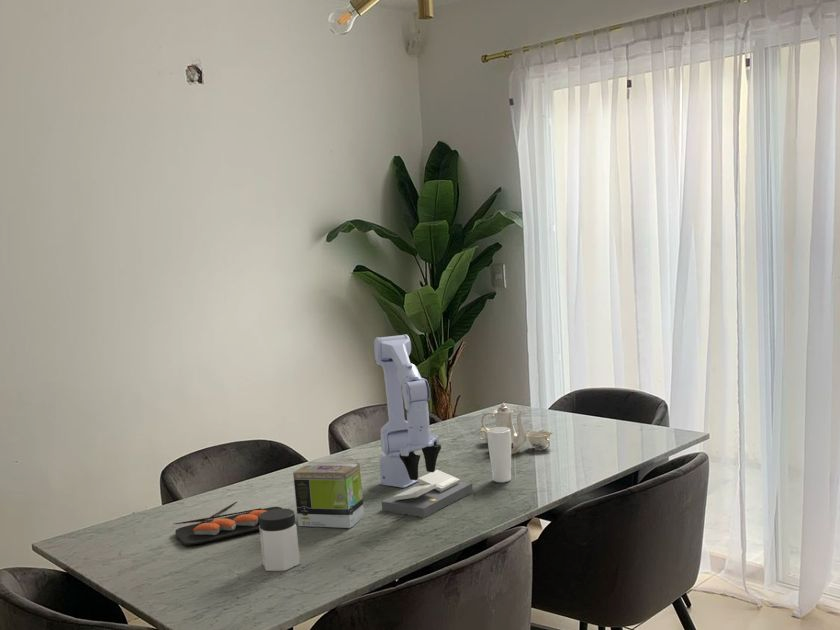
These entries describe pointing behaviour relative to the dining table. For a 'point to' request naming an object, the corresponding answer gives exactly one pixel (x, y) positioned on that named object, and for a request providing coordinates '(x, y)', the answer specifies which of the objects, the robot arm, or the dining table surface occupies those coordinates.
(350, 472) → the tea box
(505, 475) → the drinking glass
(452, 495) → the switch panel
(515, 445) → the chinaware
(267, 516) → the jar
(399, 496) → the switch
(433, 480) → the switch
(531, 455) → the dining table surface
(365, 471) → the dining table surface
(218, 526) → the sushi plate
